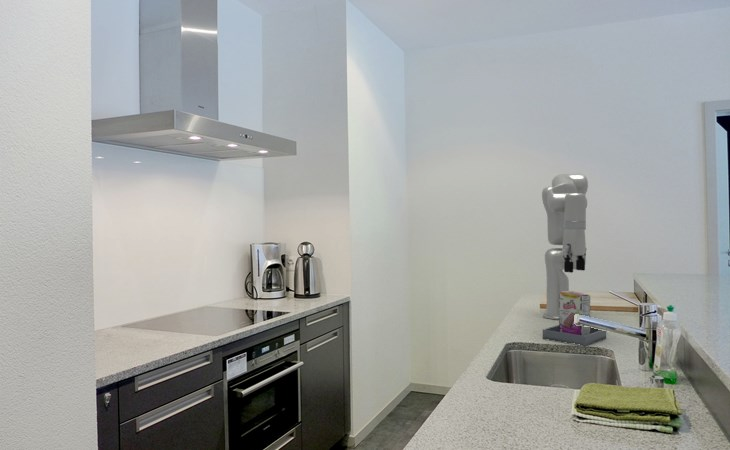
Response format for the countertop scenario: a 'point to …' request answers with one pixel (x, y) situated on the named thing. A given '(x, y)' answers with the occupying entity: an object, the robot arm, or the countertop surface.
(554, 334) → the tray
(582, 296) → the candy bar box
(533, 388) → the countertop surface
